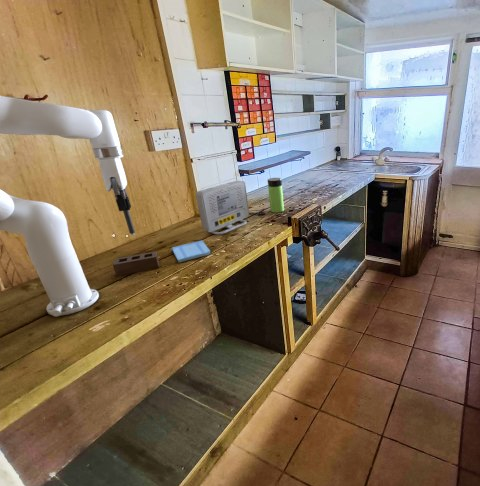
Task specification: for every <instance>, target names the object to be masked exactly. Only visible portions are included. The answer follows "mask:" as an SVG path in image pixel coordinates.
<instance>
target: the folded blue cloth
mask: <svg viewBox="0 0 480 486" xmlns="http://www.w3.org/2000/svg"><path fill="white" fill-rule="evenodd" d="M171 250H172V252H173V254H174V256H175V258H176V261H177V262H178V263H183V262H187V261H190V260H194V259H198V258H200V257H202V258H203V257H206V256H209V255H210V254H211V250H210V248H209V247H208V246H207V244H206V243H205V242H204V241H203V240H198V241H194V242H190V243H185V244H181V245H178V246H172V247H171Z"/></svg>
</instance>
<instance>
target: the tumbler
mask: <svg viewBox="0 0 480 486" xmlns="http://www.w3.org/2000/svg"><path fill="white" fill-rule="evenodd" d="M267 191H268V199H269V209H270V212H271V213H282V212H284V211H285V206H284V193H283V183H282V178H281V177H270V178H268V179H267Z"/></svg>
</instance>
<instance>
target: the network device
mask: <svg viewBox="0 0 480 486" xmlns="http://www.w3.org/2000/svg"><path fill="white" fill-rule="evenodd" d="M247 194H248V193H247V187H246V182H245V181H244V180H239V179H237V180H233V181H230V182H226V183H223V184H219V185H215V186H211V187H209V188H204V189H202V190H198V191H197V192H195V198H196V199H195V200H196V204H197V209H198V213H199V214H198V215H199V218H200V224H201V229H202V230H203V231H204V232H208V233H210V234H213V235H224V234H226V233H228V232H231V231H233V230H235V229H237V228H239V227H242V226H244V225H247V224H248V220H245V219H246V218H248V217H249V216H250V209H249V201H248V195H247ZM236 222H241V223H239V224H237V225H233V224H234V223H236ZM222 228H225V230H223V231H220V232H219V231H218V230H219V229H222Z"/></svg>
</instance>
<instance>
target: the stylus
mask: <svg viewBox="0 0 480 486" xmlns="http://www.w3.org/2000/svg"><path fill="white" fill-rule="evenodd" d="M122 213H123V215H124V218H125V223H126V225H127V229H128V232H129V234H130V235H131V236H135V235H136V234H135V233H136V231H135V227H134V224H133V221H132V217H131V214H130V210H126V211H122Z"/></svg>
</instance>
